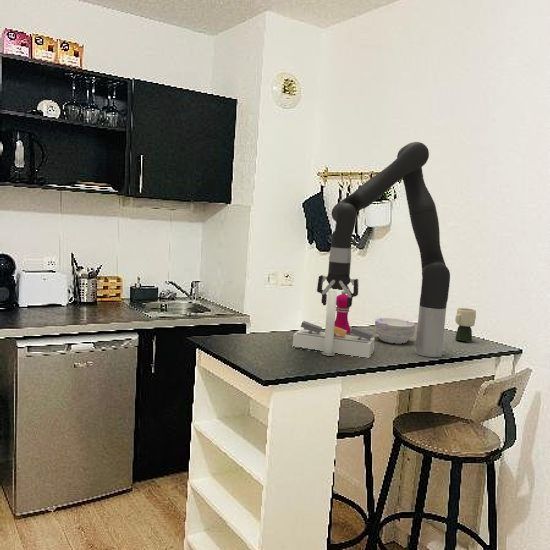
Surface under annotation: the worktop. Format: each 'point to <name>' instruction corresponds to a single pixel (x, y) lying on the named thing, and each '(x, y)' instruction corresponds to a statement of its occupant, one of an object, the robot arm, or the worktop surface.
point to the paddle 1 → (311, 327)
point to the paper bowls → (394, 330)
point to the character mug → (465, 323)
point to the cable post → (330, 323)
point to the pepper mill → (342, 312)
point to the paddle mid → (339, 331)
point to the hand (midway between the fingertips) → (336, 306)
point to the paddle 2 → (361, 333)
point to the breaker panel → (335, 343)
